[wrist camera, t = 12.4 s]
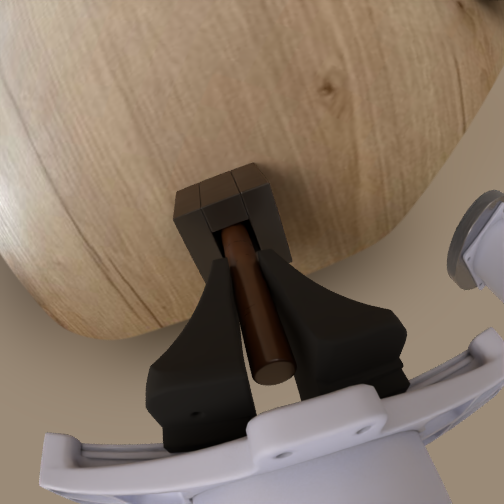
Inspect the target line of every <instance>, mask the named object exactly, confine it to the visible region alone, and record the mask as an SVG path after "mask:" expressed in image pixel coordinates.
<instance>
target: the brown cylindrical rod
mask: <svg viewBox="0 0 504 504" xmlns="http://www.w3.org/2000/svg"><path fill="white" fill-rule="evenodd" d="M220 232H221V237H222V242H223V247H224V252H225V257H227V259H228V263H229V268H230V273H231V278H232V285H233V293H234V299H235V304H236V308H237V313H238V317H239V322H240V326H241V331H242V335H243V339H244V344H245V348H246V353H247V357H248V361H249V365H250V370H251V374H252V378H253V380H254V381H255V382H256V383H258V384H261V385H276V384H280V383H283V382H285V381H287V380H288V379H290V378H291V377H292V376H293V375H294V374H295V373H296V370H297V363H296V360H295V358H294V355H293V352H292V349H291V347H290V344H289V341H288V339H287V336H286V333H285V331H284V328H283V325H282V323H281V320H280V317H279V314H278V312H277V309H276V306H275V304H274V301H273V298H272V296H271V293H270V290H269V288H268V285H267V282H266V280H265V277H264V275H263V272H262V270H261V267H260V264H259V261H258V258H257V256H256V253H255V250H254V248H253V245H252V242H251V239H250V237H249V234H248V231H247V229H246V226H245V223H244V221H242V222H239V223H236V224H234V225H231V226H228V227H226V228H223V229H220Z"/></svg>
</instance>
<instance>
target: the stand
mask: <svg viewBox="0 0 504 504" xmlns="http://www.w3.org/2000/svg"><path fill="white" fill-rule="evenodd" d="M173 221H174V223H175V225H176V227H177V229H178V231H179V233H180V235H181V237H182V239H183V241H184V243H185V245H186V247H187V249H188V251H189V253H190V255H191V256H192V258H193V260H194V262H195V264H196V266H197V268H198V270H199V272H200V274H201V276H202V277H203V279H204V281H205V283H207V280H208V276H209V273H210V268H211V262H212V261H213V260H216V259H221V258H226V257H225V252H224V247H223V242H222V237H221V232H220V229H223V228H226V227H228V226H231V225H234V224H236V223H239V222H242V221H244V223H245V226H246V229H247V231H248V234H249V237H250V239H251V242H252V245H253V248H254V250H255V253H256V256H257V258H258V252H257V251H261V250H266V249H273V250H274V251H275V252H276V253H277V254H278V255H279V256H281V257H282V258H283V259H284V260H285V261H286V262H288V263H290V262H292V257H291V254H290V250H289V247H288V243H287V240H286V236H285V233H284V230H283V226H282V223H281V219H280V216H279V213H278V209H277V206H276V203H275V199H274V196H273V193H272V190H271V186H270V183H269V182H268V181H267V179H266V178H265V177H264V175H263V174H262V173H261V172H260V170H259V169H258V168H257V166H256V165H255V164H254V163H251V164H248V165H245V166H242V167H239V168H237V169H234V170H231V172H230V171H228V172H225V173H223V174H220V175H217V176H215V177H212V178H210V179H207V180H205V181H202V182H200V183H197V184H194V185H192V186H189V187H187V188H184V189H182V190H180V191H177V192H176V199H175V207H174V215H173ZM258 261H259V260H258Z"/></svg>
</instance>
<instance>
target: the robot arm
mask: <svg viewBox="0 0 504 504" xmlns="http://www.w3.org/2000/svg"><path fill="white" fill-rule="evenodd" d="M257 252H258V260H259V264H260V267H261V270H262V272H263V275H264V277H265V280H266V282H267V285H268V288H269V290H270V293H271V296H272V298H273V301H274V304H275V306H276V309H277V312H278V314H279V317H280V320H281V323H282V325H283V328H284V331H285V333H286V336H287V339H288V341H289V344H290V347H291V349H292V352H293V355H294V358H295V360H296V363H297V370H296V373H295V374H294V377H295V380H296V384H297V387H298V390H299V394H300V398H301V402H297V403H293V404H289V405H285V406H281V407H277V408H274V409H271V410H269V411H265V412H262V413H260V414H259V415H257V414H256V410H255V406H254V402H253V397H252V393H251V389H250V384H249V380H248V376H247V372H246V367H245V363H244V357H243V350H242V342H241V332H240V323H239V317H238V313H237V308H236V304H235V299H234V293H233V285H232V278H231V273H230V268H229V263H228V259H227V257H226V258H221V259H216V260H213V261H212V262H211V268H210V273H209V276H208V280H207V283H206V286H205V289H204V291H203V294H202V296H201V298H200V301H199V303H198V305H197V307H196V309H195V311H194V313H193V315H192V317H191V318H190V320H189V322H188V323H187V325H186V326H185V328H184V329H183V331H182V332H181V334H180V335H179V336H178V338H177V339H176V340H175V341H174V343H173V344H172V345H171V346H170V347H169V349H168V350H167V351H166V352H165V353H164V354H163V355H162V356H161V357H160V358H159V359H158V360H157V361H156V362H155V363H154V364H152V365H151V366H150V369H149V373H148V378H147V383H146V408H147V410H148V412H149V413H150V414H151V415H152V416H153V418H154V419H155V420H156V421H157V422H158V423H159V424H160V425H161V427H162V428H163V443H157V444H134V445H133V444H132V445H131V444H129V445H109V444H84V443H81V442H80V441H79V440H78V439H76V438H75V437H73V436H71V435H68V434H60V433H49V432H47V433H45V439H44V446H43V453H42V461H41V469H40V479H39V485H40V486H41V487H43V488H45V489H47V490H49V491H51V492H53V493H55V494H58V495H60V496H62V497H64V498H67V499H69V500H72V501H74V502H77V503H81V504H452V501H451V499H450V497H449V495H448V493H447V490H446V488H445V486H444V484H443V482H442V480H441V478H440V476H439V474H438V471H437V470H436V467H435V465H434V463H433V462H432V459H431V457H430V455H429V453H428V451H427V449H426V447H425V445H427V444H429V443H431V442H432V441H434V440H435V439H437V438H438V437H440V436H441V435H443V434H444V433H446V432H447V431H449V430H450V429H452V428H453V427H455V426H456V425H457V424H459V423H460V422H462V421H463V420H464V419H466V418H467V417H468V416H470V415H471V414H472V413H474V412H475V411H476V410H478V409H479V408H480V407H482V406H483V405H484V404H485V403H487V402H488V401H489V400H491V399H492V398H493V397H494V396H496V394H497V393H498V392H499V391H500V390H501V388H503V386H504V340H503V339H502V338H501V337H500V336H499V334H498V333H497V332H496V331H495V330H494V328H492V327H490V328H488V329H487V330H485V331H483V332H482V333H480V334H478V335H477V336H476V337H475V338H474V339H473V340H472V342H471V343H470V345H469V347H468V350H466V351H464V352H462V353H461V354H459V355H457V356H456V357H454V358H452V359H450V360H448V361H446V362H445V363H443V364H441V365H439V366H437V367H435V368H433V369H431V370H429V371H427V372H425V373H423V374H421V375H419V376H417V377H415V378H413V379H410V380H408V379H407V377H406V375H405V374H404V372H403V371H402V368H403V363H402V361H401V360H400V358H399V356H400V354H401V352H402V349H403V347H404V344H405V341H406V337H407V331H406V329H405V327H404V326H403V324H402V323H401V322H400V320H399V319H398V317H397V316H396V315H395V314H394V313H393V312H392V311H391V310H389V309H384V308H380V307H375V306H371V305H367V304H363V303H360V302H357V301H354V300H351V299H349V298H346V297H344V296H341V295H339V294H337V293H334V292H332V291H330V290H328V289H326V288H324V287H323V286H321V285H319V284H317V283H315V282H313V281H312V280H311V279H309V278H307V277H306V276H305V275H303V274H302V273H300V272H299V271H298V270H296V269H295V268H294V267H293V266H291V265H290V264H289V263H288V262H286V261H285V260H284V259H283V258H282V257H281V256H279V255H278V254H277V253H276V252H275V251H274V250H273V249H266V250H261V251H257ZM463 260H464V262H465V263H466V265H467V267H468V269H469V271H470V273H471V275H472V277H473V279H474V281H475V283H476V285H477V287H478V289H479V290H482V289H483V288H484V286H485V285H486V286H487V287H488V288H489V289H490V290H491V291H492V292H493V293H494V294H495V295H496V296H497V297H498V298H499V299H500V300H501V301H502V302H503V303H504V202H502V203H501V204H500V205H499V206H498V208H497V209H496V211H495V212H494V214H493V215H492V217H491V218H490V220H489V221H488V222H487V224H486V225H485V227H484V228H483V229H482V231H481V232H480V233H479V235H478V236H477V237H476V239H475V240H474V241H473V243H472V244H471V245H470V246H469V248H468V249H467V250H466V252H465V253H464V254H463Z"/></svg>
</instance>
